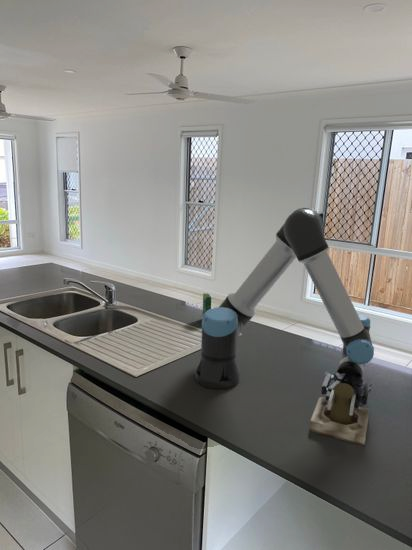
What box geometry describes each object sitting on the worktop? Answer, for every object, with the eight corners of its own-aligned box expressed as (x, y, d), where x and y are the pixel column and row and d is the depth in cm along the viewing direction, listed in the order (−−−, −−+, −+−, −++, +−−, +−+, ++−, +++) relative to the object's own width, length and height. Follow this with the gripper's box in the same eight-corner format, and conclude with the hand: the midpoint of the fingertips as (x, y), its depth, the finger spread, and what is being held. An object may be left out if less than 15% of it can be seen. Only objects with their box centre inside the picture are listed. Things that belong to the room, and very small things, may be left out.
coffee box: (201, 318, 195) (202, 292, 192) (207, 318, 195) (208, 292, 192) (204, 324, 187) (205, 297, 184) (210, 324, 188) (211, 297, 185)
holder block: (309, 430, 108) (310, 420, 108) (318, 405, 121) (319, 396, 120) (364, 446, 103) (365, 435, 102) (368, 418, 115) (369, 409, 114)
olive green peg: (353, 429, 108) (357, 392, 105) (329, 425, 109) (334, 389, 107) (349, 416, 114) (354, 381, 111) (327, 413, 115) (331, 378, 112)
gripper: (379, 390, 123) (374, 430, 102) (319, 376, 130) (304, 411, 110) (382, 367, 121) (378, 403, 101) (322, 355, 129) (307, 386, 108)
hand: (340, 407), depth 105 cm, fingers closed on olive green peg, 5 cm apart
